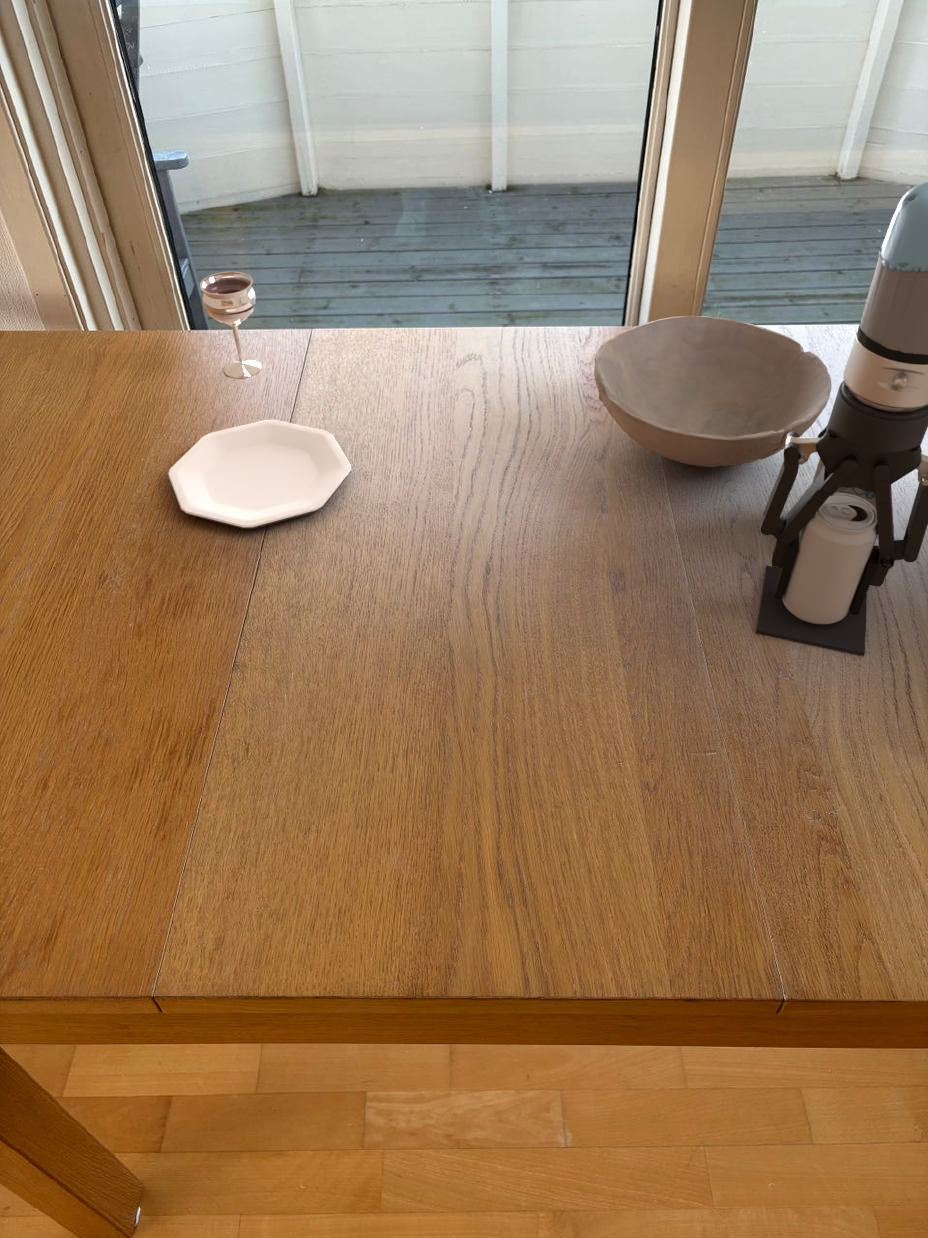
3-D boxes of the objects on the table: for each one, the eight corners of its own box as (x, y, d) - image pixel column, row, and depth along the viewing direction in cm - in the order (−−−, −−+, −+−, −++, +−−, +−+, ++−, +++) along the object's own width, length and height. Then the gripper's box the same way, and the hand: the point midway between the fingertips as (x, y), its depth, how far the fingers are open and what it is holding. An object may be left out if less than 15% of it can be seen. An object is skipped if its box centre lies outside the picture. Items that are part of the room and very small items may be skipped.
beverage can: (850, 633, 91) (889, 536, 83) (781, 625, 92) (813, 528, 83) (843, 588, 95) (879, 492, 87) (777, 581, 96) (807, 485, 88)
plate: (196, 552, 101) (193, 541, 100) (159, 455, 114) (156, 444, 113) (370, 505, 106) (369, 494, 105) (317, 417, 119) (315, 407, 118)
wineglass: (207, 367, 128) (188, 282, 120) (249, 350, 131) (234, 266, 123) (235, 387, 125) (217, 300, 116) (277, 368, 128) (264, 283, 119)
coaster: (866, 587, 96) (867, 584, 96) (863, 656, 89) (865, 653, 89) (765, 567, 98) (766, 564, 98) (755, 633, 92) (756, 630, 91)
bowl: (853, 488, 108) (879, 412, 101) (634, 525, 104) (645, 448, 97) (750, 373, 126) (766, 302, 119) (560, 400, 122) (565, 328, 115)
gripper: (762, 393, 76) (711, 601, 92) (1023, 434, 72) (921, 645, 88) (770, 349, 81) (720, 554, 97) (1015, 385, 77) (920, 593, 93)
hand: (816, 597), depth 93 cm, fingers closed on beverage can, 6 cm apart
